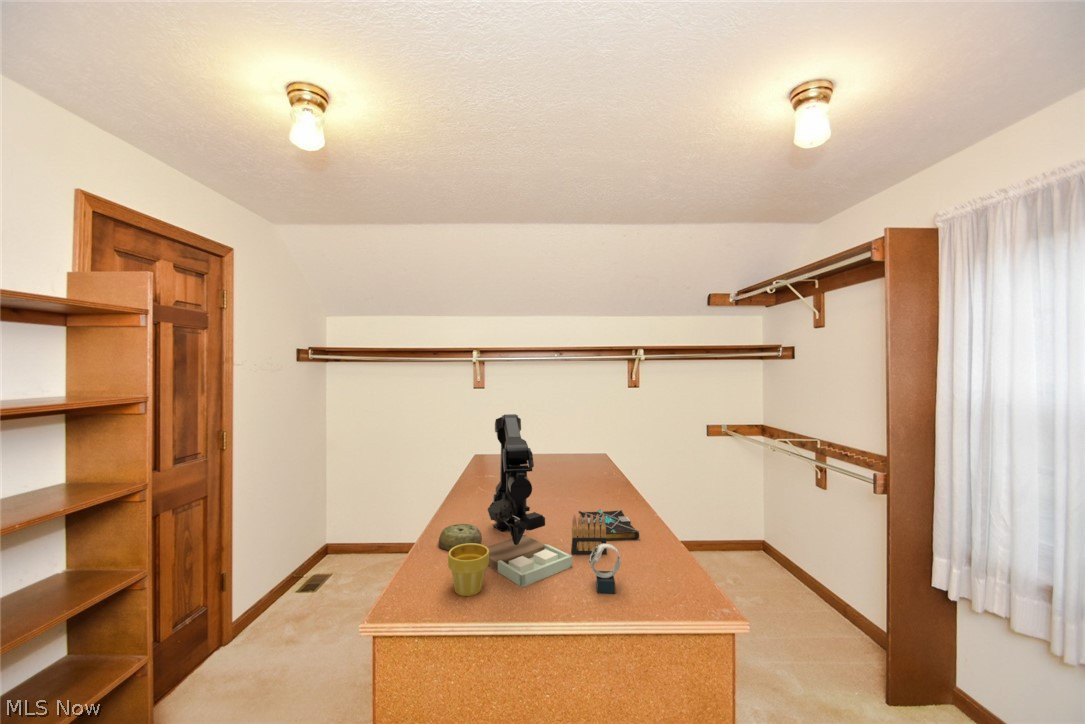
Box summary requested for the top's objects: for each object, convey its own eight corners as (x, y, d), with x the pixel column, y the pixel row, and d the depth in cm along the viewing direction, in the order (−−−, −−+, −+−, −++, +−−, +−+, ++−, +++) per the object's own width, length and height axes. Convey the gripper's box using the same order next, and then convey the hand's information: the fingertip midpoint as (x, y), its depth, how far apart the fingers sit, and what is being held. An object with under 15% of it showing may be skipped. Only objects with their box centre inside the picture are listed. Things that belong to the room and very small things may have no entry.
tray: (497, 571, 120) (497, 561, 120) (546, 553, 132) (546, 543, 132) (522, 587, 112) (522, 575, 112) (572, 566, 124) (572, 556, 124)
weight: (489, 539, 143) (489, 524, 143) (466, 556, 131) (466, 539, 131) (455, 533, 149) (455, 518, 149) (429, 548, 137) (429, 532, 137)
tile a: (533, 561, 126) (533, 554, 126) (545, 555, 129) (545, 549, 129) (545, 566, 122) (545, 559, 122) (557, 561, 126) (558, 554, 126)
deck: (476, 558, 129) (476, 550, 129) (524, 542, 140) (524, 534, 141) (497, 571, 120) (497, 562, 120) (546, 553, 132) (546, 545, 132)
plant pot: (495, 593, 109) (495, 554, 109) (455, 604, 104) (455, 563, 104) (480, 576, 118) (480, 540, 118) (442, 585, 113) (442, 547, 113)
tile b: (508, 568, 121) (508, 561, 121) (522, 562, 125) (522, 555, 125) (520, 574, 118) (520, 567, 118) (534, 568, 121) (534, 561, 121)
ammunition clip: (571, 554, 132) (571, 515, 132) (571, 552, 133) (571, 512, 134) (607, 554, 132) (607, 514, 132) (606, 552, 133) (606, 512, 134)
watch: (588, 582, 115) (588, 540, 115) (619, 583, 114) (619, 541, 114) (589, 593, 109) (589, 549, 109) (621, 594, 109) (621, 550, 109)
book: (639, 541, 142) (639, 526, 143) (588, 543, 141) (588, 527, 141) (622, 518, 164) (622, 505, 164) (577, 519, 163) (577, 506, 163)
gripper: (474, 486, 124) (473, 541, 124) (513, 503, 110) (513, 565, 110) (505, 480, 132) (505, 531, 132) (546, 494, 117) (546, 552, 118)
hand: (516, 544), depth 123 cm, fingers closed
